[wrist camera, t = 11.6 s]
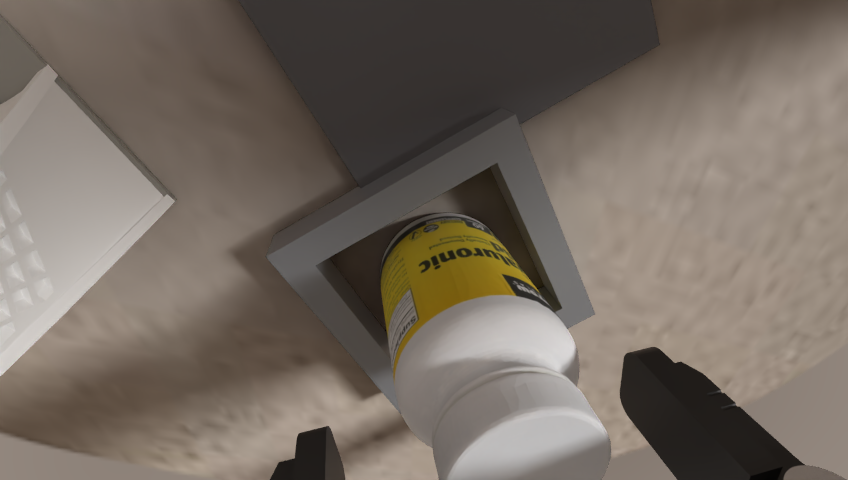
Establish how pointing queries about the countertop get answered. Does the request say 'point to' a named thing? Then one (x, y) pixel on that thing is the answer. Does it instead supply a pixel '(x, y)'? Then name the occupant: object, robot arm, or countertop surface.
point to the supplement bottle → (484, 359)
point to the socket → (402, 193)
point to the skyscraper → (59, 197)
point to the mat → (440, 64)
